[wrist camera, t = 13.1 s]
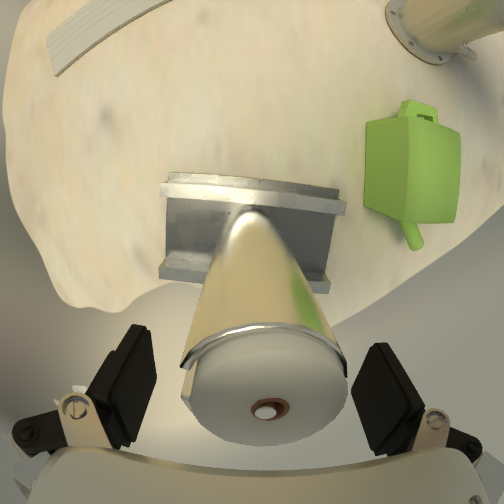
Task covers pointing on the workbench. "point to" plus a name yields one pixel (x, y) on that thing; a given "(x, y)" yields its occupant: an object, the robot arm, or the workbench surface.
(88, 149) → the workbench surface
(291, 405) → the tan metal cylinder
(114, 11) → the baseboard
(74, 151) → the workbench surface
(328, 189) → the floor track
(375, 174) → the lime handled box
